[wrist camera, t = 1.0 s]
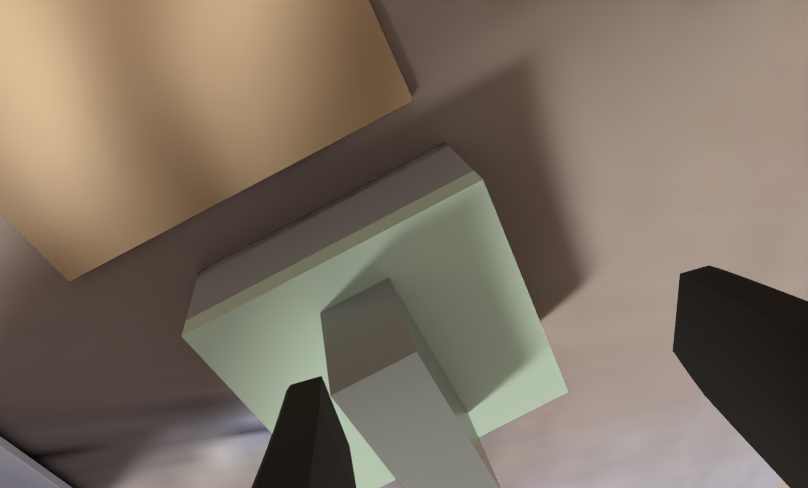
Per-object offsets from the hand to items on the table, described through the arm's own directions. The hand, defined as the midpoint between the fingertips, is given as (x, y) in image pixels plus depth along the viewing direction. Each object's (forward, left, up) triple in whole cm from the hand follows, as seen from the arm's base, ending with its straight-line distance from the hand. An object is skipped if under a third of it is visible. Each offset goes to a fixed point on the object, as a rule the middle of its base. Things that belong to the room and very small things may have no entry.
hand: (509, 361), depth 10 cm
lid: (-3, -4, -8) cm, 9 cm away
